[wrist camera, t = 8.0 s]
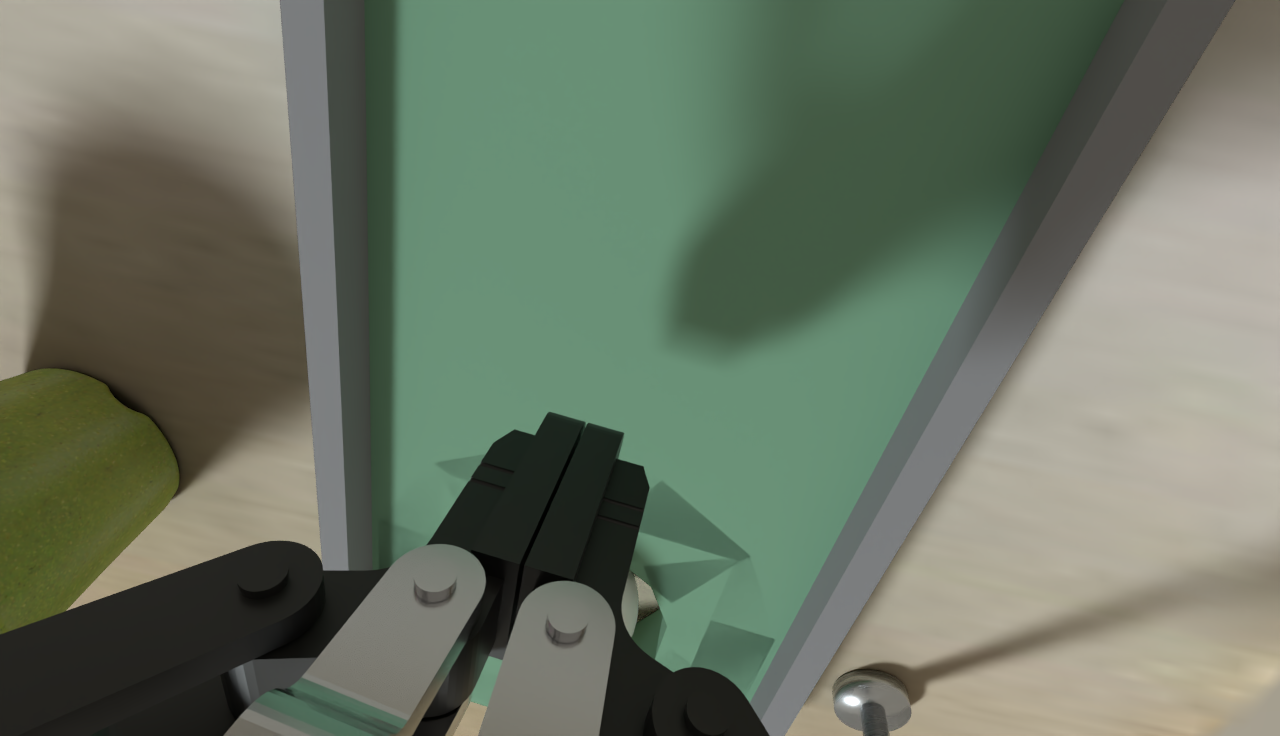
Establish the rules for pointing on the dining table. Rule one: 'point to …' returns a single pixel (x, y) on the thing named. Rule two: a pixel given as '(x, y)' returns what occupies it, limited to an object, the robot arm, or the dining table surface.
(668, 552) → the lane
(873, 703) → the pin
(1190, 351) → the dining table surface
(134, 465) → the plant pot
